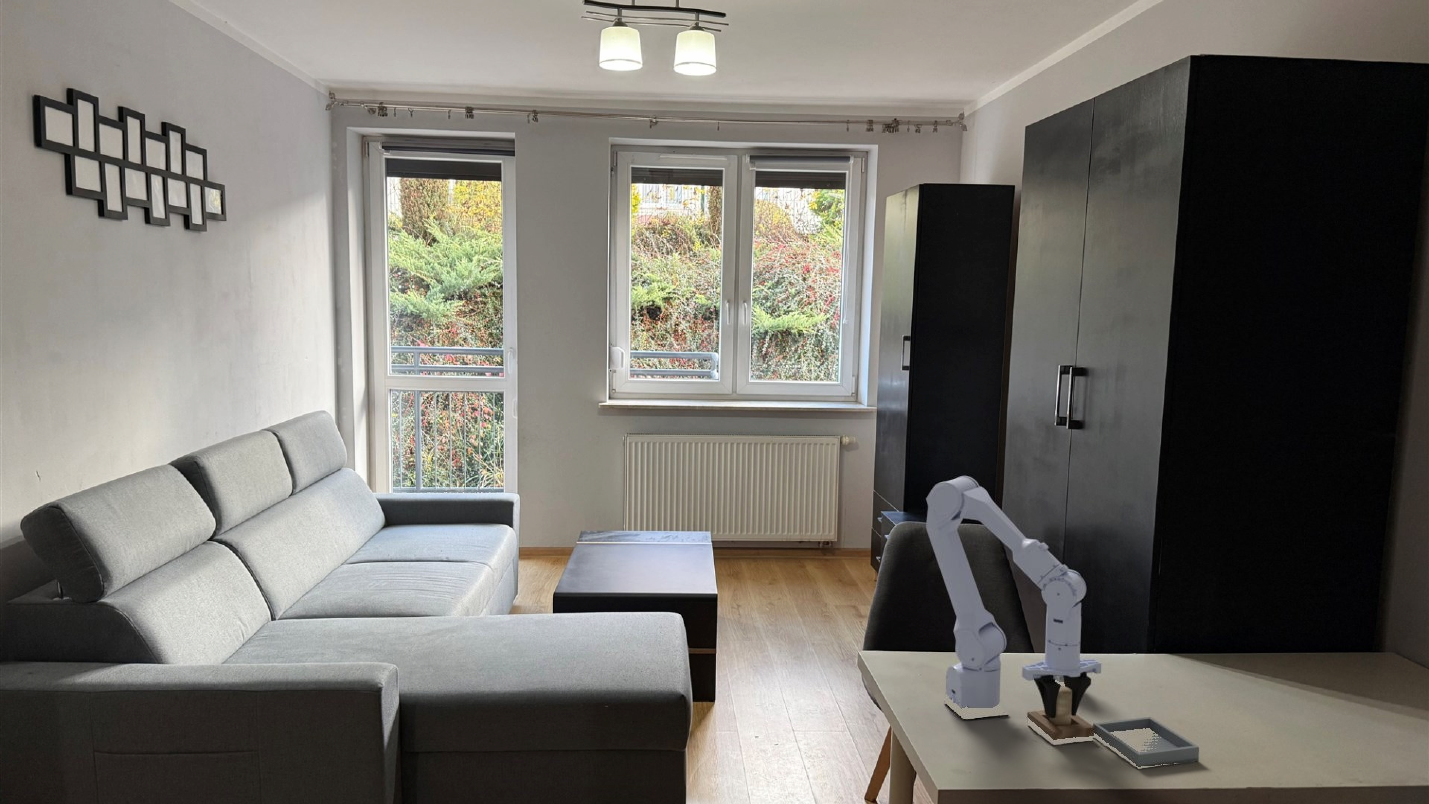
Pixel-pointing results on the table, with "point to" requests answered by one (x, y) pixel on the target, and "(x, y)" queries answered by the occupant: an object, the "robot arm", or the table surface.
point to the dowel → (1063, 708)
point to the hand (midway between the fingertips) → (1060, 714)
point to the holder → (1061, 732)
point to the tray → (1167, 747)
